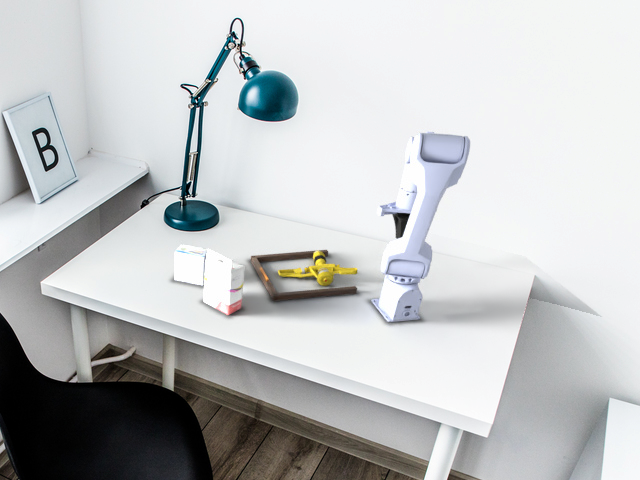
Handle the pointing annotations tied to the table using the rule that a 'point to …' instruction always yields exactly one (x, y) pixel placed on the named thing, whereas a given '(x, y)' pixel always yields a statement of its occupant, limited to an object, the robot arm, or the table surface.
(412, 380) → the table surface
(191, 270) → the medicine box
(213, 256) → the ink cartridge box
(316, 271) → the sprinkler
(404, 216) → the robot arm
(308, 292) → the frame
